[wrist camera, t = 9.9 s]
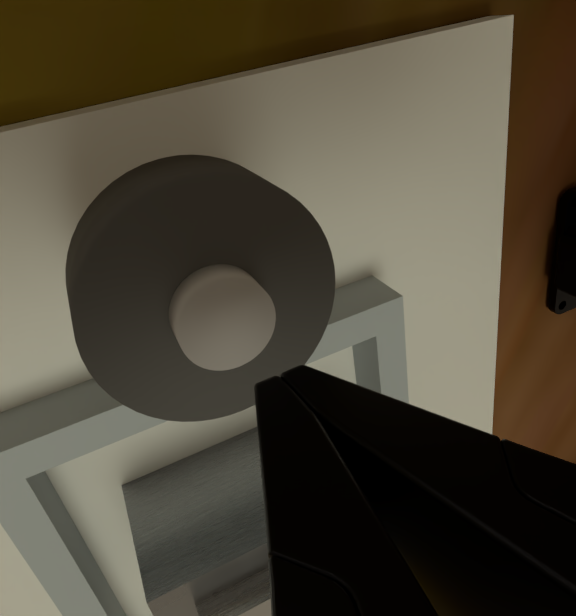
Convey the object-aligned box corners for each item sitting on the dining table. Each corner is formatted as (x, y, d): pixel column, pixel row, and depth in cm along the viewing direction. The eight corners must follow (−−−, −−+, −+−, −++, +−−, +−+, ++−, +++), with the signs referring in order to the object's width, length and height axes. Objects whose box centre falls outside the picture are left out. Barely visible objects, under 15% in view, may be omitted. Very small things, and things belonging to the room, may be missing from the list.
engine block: (314, 401, 22) (398, 507, 17) (328, 484, 24) (405, 597, 19) (121, 485, 19) (153, 635, 15) (159, 566, 22) (198, 717, 17)
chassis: (488, 16, 19) (562, 12, 16) (474, 454, 30) (517, 493, 28) (-504, 241, 11) (-662, 300, 9) (-31, 712, 23) (-38, 799, 20)
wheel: (278, 127, 12) (338, 147, 10) (312, 330, 15) (363, 383, 13) (22, 194, 10) (20, 237, 8) (113, 407, 13) (132, 483, 11)
